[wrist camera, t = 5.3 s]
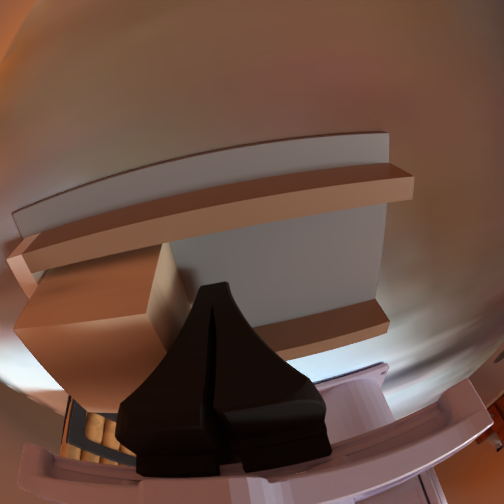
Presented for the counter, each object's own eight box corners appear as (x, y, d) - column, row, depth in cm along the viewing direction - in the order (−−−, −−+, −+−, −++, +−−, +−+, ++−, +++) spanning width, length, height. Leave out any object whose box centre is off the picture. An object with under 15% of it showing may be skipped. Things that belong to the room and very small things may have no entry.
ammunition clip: (68, 395, 19) (49, 515, 9) (75, 389, 18) (55, 517, 8) (163, 436, 24) (166, 539, 14) (173, 432, 23) (178, 540, 13)
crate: (199, 328, 15) (201, 408, 11) (105, 340, 15) (87, 412, 11) (165, 232, 12) (145, 313, 8) (56, 257, 12) (12, 329, 7)
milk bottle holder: (508, 388, 57) (530, 426, 40) (515, 390, 70) (532, 419, 54) (465, 426, 65) (483, 463, 48) (482, 420, 78) (497, 449, 62)
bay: (367, 321, 17) (382, 347, 15) (106, 367, 17) (100, 395, 15) (384, 131, 11) (415, 142, 9) (16, 210, 10) (-9, 233, 8)
